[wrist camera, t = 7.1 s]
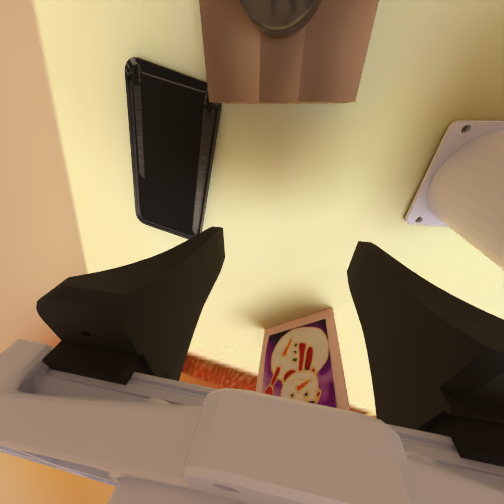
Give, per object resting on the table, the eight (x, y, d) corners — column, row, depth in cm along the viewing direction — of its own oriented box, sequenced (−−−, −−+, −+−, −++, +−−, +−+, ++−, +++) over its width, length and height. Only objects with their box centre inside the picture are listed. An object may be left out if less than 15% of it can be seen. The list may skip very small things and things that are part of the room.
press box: (390, -125, 10) (434, -235, 7) (343, 103, 15) (355, 101, 12) (215, -97, 11) (182, -178, 8) (226, 103, 17) (209, 102, 13)
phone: (221, 87, 15) (198, 242, 24) (225, 89, 16) (201, 238, 25) (122, 52, 15) (135, 221, 24) (131, 55, 16) (141, 217, 25)
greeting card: (329, 303, 27) (353, 460, 15) (354, 334, 30) (392, 489, 18) (261, 326, 33) (240, 454, 20) (287, 350, 35) (282, 477, 23)
